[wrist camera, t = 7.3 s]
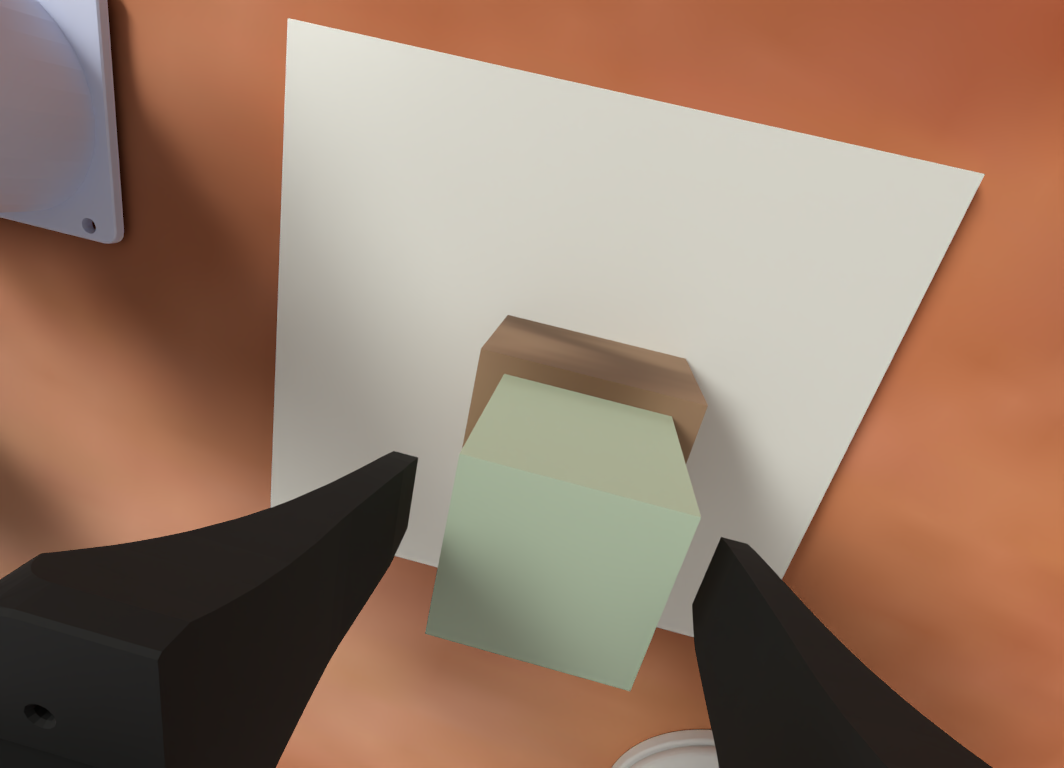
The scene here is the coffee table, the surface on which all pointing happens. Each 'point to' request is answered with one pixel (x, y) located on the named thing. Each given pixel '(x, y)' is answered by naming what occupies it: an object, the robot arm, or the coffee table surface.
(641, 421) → the sage block
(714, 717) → the robot arm
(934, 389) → the coffee table surface
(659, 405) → the walnut block
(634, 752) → the chess piece
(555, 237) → the baseplate
